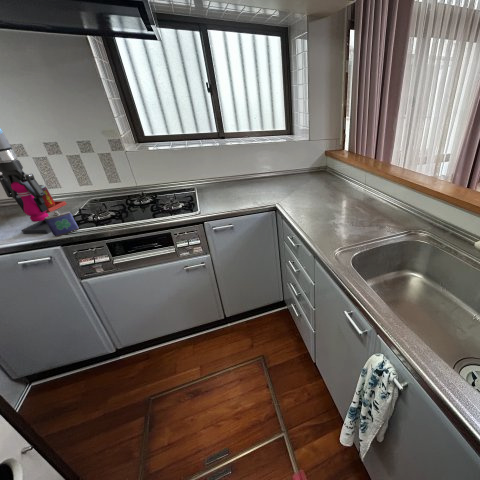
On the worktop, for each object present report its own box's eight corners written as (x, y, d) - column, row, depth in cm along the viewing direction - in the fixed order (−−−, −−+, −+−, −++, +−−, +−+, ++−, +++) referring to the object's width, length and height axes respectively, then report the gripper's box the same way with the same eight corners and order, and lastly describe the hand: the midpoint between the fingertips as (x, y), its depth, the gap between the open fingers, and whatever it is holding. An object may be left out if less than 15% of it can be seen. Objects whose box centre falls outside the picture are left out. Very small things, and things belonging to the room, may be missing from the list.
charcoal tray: (23, 233, 123) (21, 230, 122) (44, 223, 132) (42, 219, 131) (47, 233, 123) (45, 229, 122) (67, 222, 133) (65, 219, 132)
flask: (78, 227, 127) (67, 207, 122) (80, 229, 126) (69, 208, 120) (53, 235, 121) (40, 214, 116) (55, 237, 119) (42, 215, 114)
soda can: (45, 205, 151) (34, 184, 145) (59, 204, 152) (48, 184, 146) (36, 210, 145) (23, 189, 139) (50, 209, 146) (38, 188, 140)
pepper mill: (41, 222, 122) (15, 179, 112) (25, 222, 122) (-2, 179, 112) (55, 215, 128) (31, 174, 118) (40, 215, 128) (16, 174, 118)
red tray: (29, 212, 144) (27, 209, 143) (47, 204, 153) (45, 201, 153) (50, 212, 144) (48, 209, 143) (66, 204, 154) (65, 201, 153)
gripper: (-29, 163, 108) (6, 214, 120) (21, 162, 108) (51, 214, 120) (-9, 159, 115) (22, 208, 126) (38, 158, 115) (64, 207, 126)
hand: (36, 210), depth 123 cm, fingers closed on pepper mill, 7 cm apart
